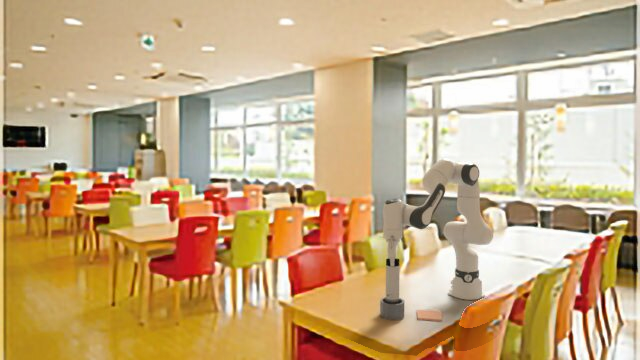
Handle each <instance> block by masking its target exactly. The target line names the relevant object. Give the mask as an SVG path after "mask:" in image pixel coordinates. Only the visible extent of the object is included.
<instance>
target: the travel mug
mask: <svg viewBox="0 0 640 360" xmlns="http://www.w3.org/2000/svg"><path fill="white" fill-rule="evenodd" d="M385 262H386V263H385V297H386V300H387V301H389V302H397V301H399V298H400V271H401V270H400V262H401V261H400V258H397V257H396V259H395V261H394V266H391V265H390V259H389V258H388V257H387V258H386V259H385Z"/></svg>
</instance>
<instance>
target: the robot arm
mask: <svg viewBox="0 0 640 360" xmlns="http://www.w3.org/2000/svg"><path fill="white" fill-rule="evenodd" d="M429 168H430V169H428V170H427V172H426V173H425V174H424V175H423V178H422V181H421V182H422V183H421V184H422V186H423V188H424V190H426V192H427V193H428V194H429V196H427V198H426V200H425V202H424V204H422V205H419V206H417V205H411V204H408V203H405V202H404V201H402V199H400V198H390V199H387V200H386V201H385V202H384V205H383V208H382V209H383V210H382V211H383V213H382V218H383V219H382V220H383V226H382V231H383V232H382V234H383V235H382V237H383V239H385V242H387V259H388V258H389V259H390V265H391V266H394V261H395V259H396V258H397V255H398V254H397V252H398V248H399V243H400V241H401V240H402V239H403V225H404V226H407V227H412V228H416V229H419V230H424V229H426V228H428V227H429V225H430V224H431V222H432V219H433V217H434V214H435V212H436V210H437V208H438V206H439V205H440V203H441V201H442V200H443V198H444V196H445V193H446V186H447V185H448V184H449V183H450V184H455V185H457V186H458V187H457V196H456V197H457V198H456V200H457V202H456V203H457V204H456V207H457V208H456V209H457V212H458V213H459V214H460V215H462V216H463V217H464V218H465V220H466V221H457V220H454V221H448V222H447V223H446V224H445V225H444V226H443V227H444V228H443V236H444V237H445V239H446V240H447V241H448V242H449V243H450V244H451V245H452V248H453V250H454V253H455V268H454V275H455V276H454V277H453V278H452V279H450V288H449V289H448V293H447V295H449V296H452V297H455V298H457V299H461V300H466V301H467V300H470V301H471V300H472V301H473V300H479V299H481V298H486V294H485V293H484V292H483V284H482V283H483V282H482V280H481V279H480V278H479V277H480V270H479V255H478V253H477V252H476V251H475V250H473V249H472V248H471V247H470V245H476V246H485V245H489V244H491V242H492V241H493V238H494V231H493V228H492V227H491V226H490V225H488V223H486V221H485V219H484V218H483V216H482V214H481V207H480V205H481V204H480V203H481V202H480V193H481V192H480V191H481V190H480V184H479V178H480V169H479V167H478V165H476V164H475V163H472V162H463V161H457V162H453V161H451V160H450V159H448V158H441V159H439V160H438V161H437V162H435V163H434V164H433V165H432V166H431V167H429ZM469 244H470V245H469Z"/></svg>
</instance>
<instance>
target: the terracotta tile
mask: <svg viewBox="0 0 640 360" xmlns="http://www.w3.org/2000/svg"><path fill="white" fill-rule="evenodd" d="M416 311H417V313H416V314H417V321H418V320H420V321H431V322H432V321H435V322H443V316H442V311H441V310H431V309H417V310H416Z"/></svg>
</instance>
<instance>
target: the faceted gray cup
mask: <svg viewBox="0 0 640 360" xmlns="http://www.w3.org/2000/svg"><path fill="white" fill-rule="evenodd" d="M379 302H380V303H379V307H380V308H379V309H380V311H379V313H380V314H379V315H380V317H381V318H382V319H386V320H390V321H399V320H402V319H404V318H405V299H403V298H400V297H399V301H397V302H389V301H387V300H386V296H385V297H382V298H380V301H379Z"/></svg>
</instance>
